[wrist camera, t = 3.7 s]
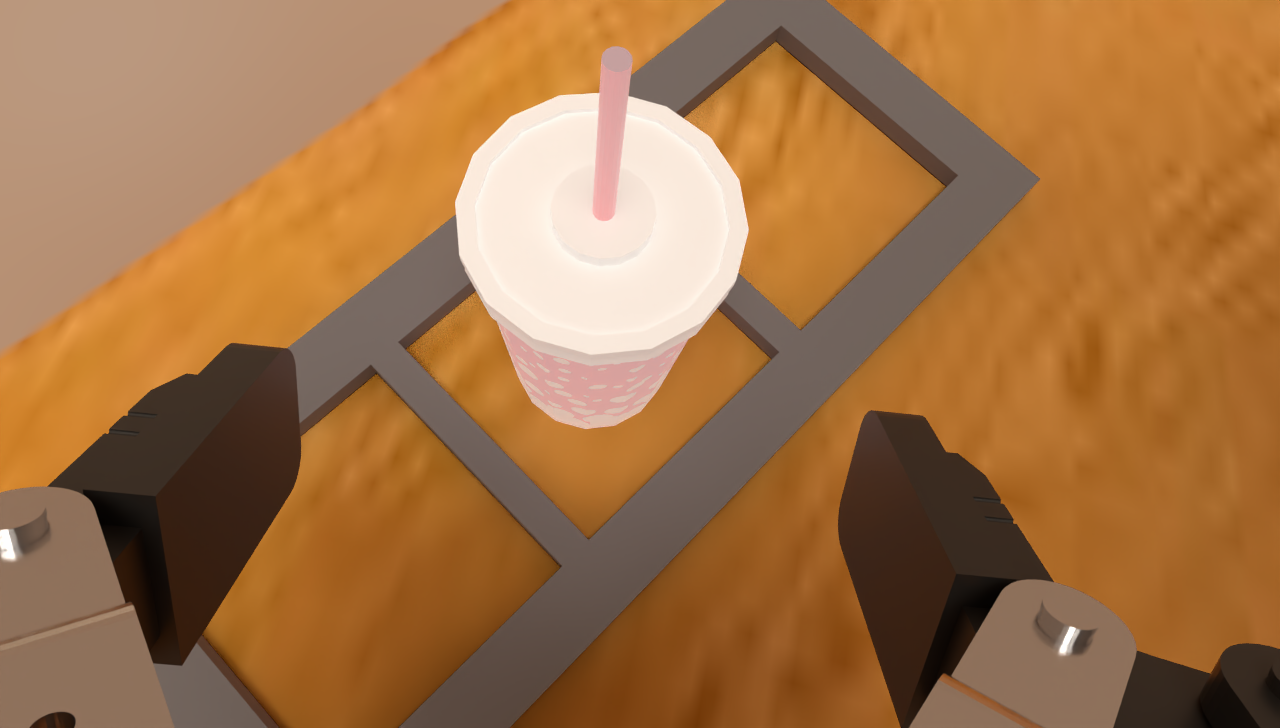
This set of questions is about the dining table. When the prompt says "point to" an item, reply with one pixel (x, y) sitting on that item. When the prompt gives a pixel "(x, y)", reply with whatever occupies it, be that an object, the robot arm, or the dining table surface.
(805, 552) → the dining table surface
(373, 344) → the grey flat frame
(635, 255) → the beverage cup
